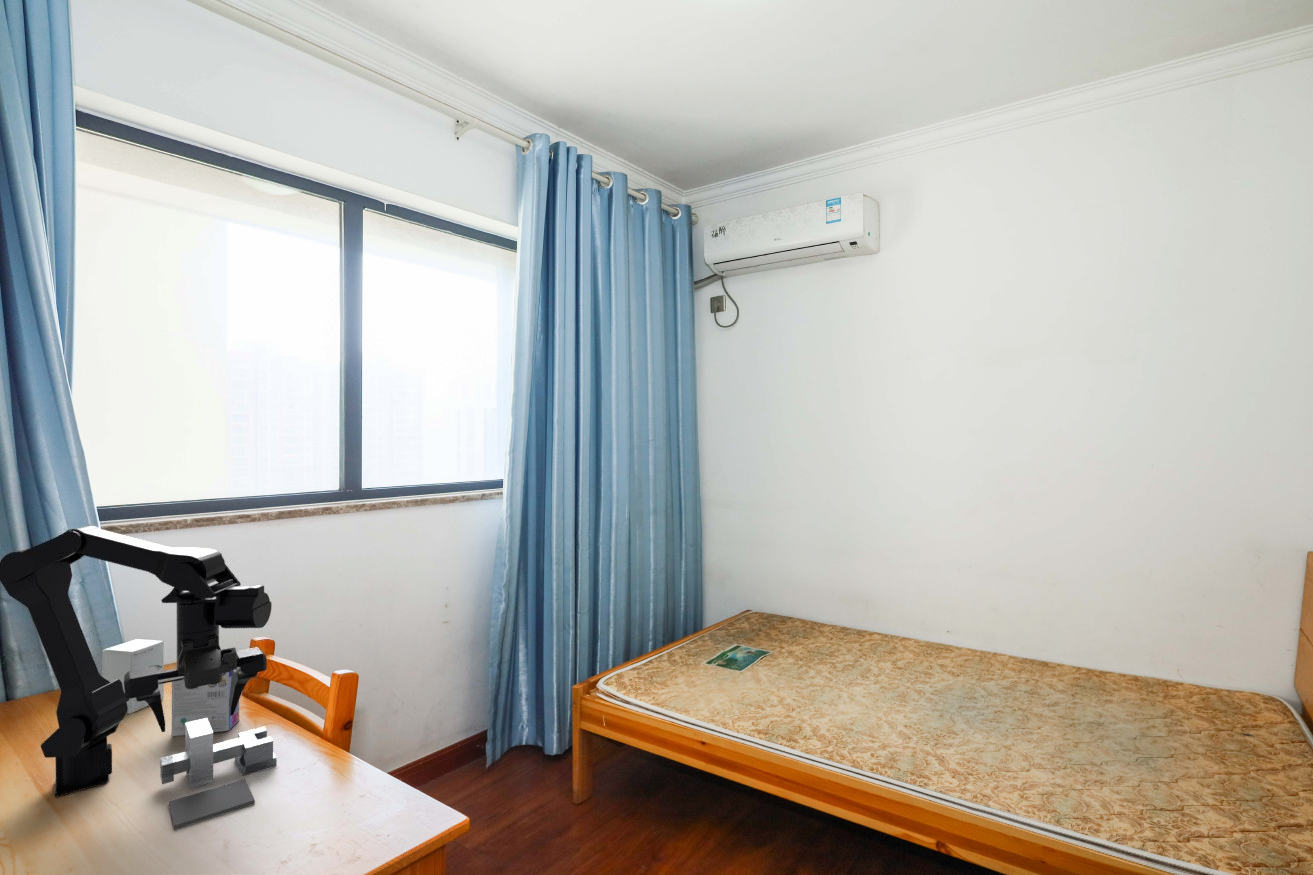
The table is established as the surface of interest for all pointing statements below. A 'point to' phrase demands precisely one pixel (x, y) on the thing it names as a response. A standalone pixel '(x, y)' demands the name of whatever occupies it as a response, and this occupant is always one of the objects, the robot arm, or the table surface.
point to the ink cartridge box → (203, 705)
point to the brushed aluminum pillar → (199, 751)
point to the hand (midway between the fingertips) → (198, 722)
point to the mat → (210, 803)
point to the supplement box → (133, 663)
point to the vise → (229, 755)
